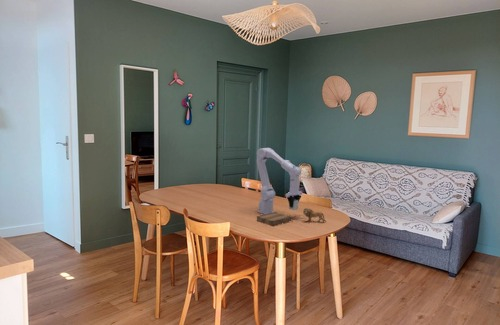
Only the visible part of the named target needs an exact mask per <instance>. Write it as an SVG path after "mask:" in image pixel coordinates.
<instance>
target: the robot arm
mask: <svg viewBox="0 0 500 325" xmlns="http://www.w3.org/2000/svg"><path fill="white" fill-rule="evenodd" d="M268 159H273V160H275V162H277V163H279V165H280V167H281V168H282V169H283V170H285V172H287V173H288V174H289V180H290V181H289V192H288V193H285V195H284V196H285V197H286V199H287V201H288V207H289V206H290V207H292V208H293V203H294V199H296V200H298V203H299V202H300V200H301V198H302V195H303V191H301V190H300V175H301V174H302V170H301V168H300V167H299V166H296V165H295V164H293V163H291V160H287V159H284V158H282V157H281V156H280V155H279V154H278V153H277V152H275V150H274V149H272V148H270V147H263V148H258V150H257V151H256V165H257V166H256V167H257V171H258V174H259V180H260V183H261V189H260V198H261V199H260V200H259V202H258V211H257V213H259V214H262V215H265V214H269V213H273V212H274V199H275V197H276V191H275V189H274V188H273V186H272V185H271V183H270V179H269V174H268V170H267V166H266V162H267V160H268Z"/></svg>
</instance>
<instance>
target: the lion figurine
mask: <svg viewBox="0 0 500 325" xmlns="http://www.w3.org/2000/svg"><path fill="white" fill-rule="evenodd" d="M302 212H303V215H304V216H306V218H308V220H307V222H308V223H312V219H313V218H318V220H317V222H320V221H321V223H322V224H324V223H325V222H327V220H326V219H325V215H324V213H323V212H322V211H313V210H312V209H311V208H309V207H304V208H303V211H302Z"/></svg>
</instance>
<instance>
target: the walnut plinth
mask: <svg viewBox="0 0 500 325" xmlns="http://www.w3.org/2000/svg"><path fill="white" fill-rule="evenodd" d="M256 221H257V222H259V221H260V222H259V223H262V222H263V224H265V223H266V225H268V224H269V225H268V226H271V225H272V227H276V226H279V225H278V224H280V225H283V224H285V223H286V222H287V223H289V221H291V222H292V216H289V215H286V214H283V213H278V212H275V211H273V213H269V214H261V215H257V216H256ZM282 223H283V224H282ZM287 223H286V224H287ZM275 225H276V226H275Z"/></svg>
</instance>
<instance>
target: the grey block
mask: <svg viewBox="0 0 500 325" xmlns="http://www.w3.org/2000/svg"><path fill="white" fill-rule="evenodd" d="M288 209H289V210H292V211H296V210H299V202H298V200H296V199H294V203H293V208H292V207H290V206H289V205H288Z"/></svg>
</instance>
